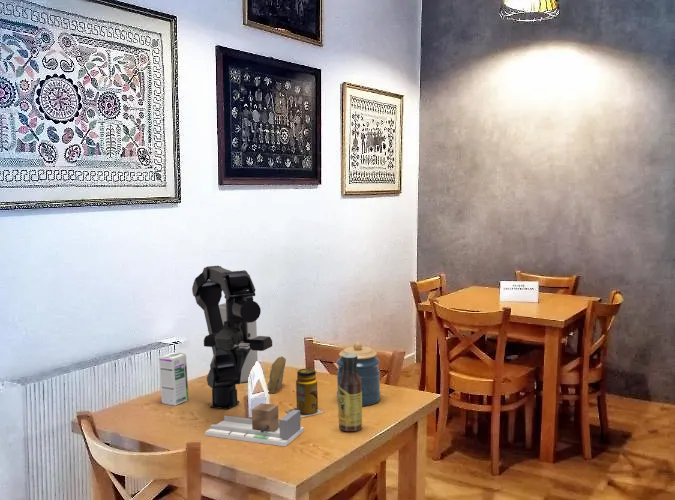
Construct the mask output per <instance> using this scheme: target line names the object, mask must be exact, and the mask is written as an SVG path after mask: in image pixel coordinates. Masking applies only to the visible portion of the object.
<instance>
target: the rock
mask: <svg viewBox="0 0 675 500" xmlns="http://www.w3.org/2000/svg"><path fill="white" fill-rule="evenodd" d="M286 361H287V358H285V357H284V356H279V357H277V358H276V359H275V360H274V362H273V363H272V364H271V368H270V373H269V376H268V378H269V381H268V382H267V383H268V384H267V390H268V391H269V392H268V393H271V394H276V393H277V392H278V390H279V389H280V388H281V387H282V384H283V379H284V373H285V367H286Z"/></svg>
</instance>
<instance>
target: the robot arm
mask: <svg viewBox="0 0 675 500" xmlns="http://www.w3.org/2000/svg"><path fill="white" fill-rule="evenodd" d="M191 290H192V296H193V297H194V299H195V302H196V305H198V307H200V308H201V309H202V310H203V313H204V318H205V321H206V327H207V331H208V334H207V335H205V336H204V339H203V347H207V348H208V347H209V348H211V350H212V355H213V356H212V358H211V361H210V364H209V366H210V369H209V371H208V373H207V376H206V383H207V386H208V387H210V388H211V397H212V399H211V401H212V403H211V404H209V407H210V408H215V409H223V410H230V409H231V408H233V407H234V406H236V405H237V404H240V401H239V400H238V390H237V389H238V388H236V385H240V384H241V383H240V380H241V370H242V368H243V365H244V363H245V360H246V357H247V355H248V353H249V352H250V350H251V349H252V350H255V351H257V352H263V351H266V350H268V349H270V348H272V347H273V340H272V338H271V337H270V336H266V335H265V336H264V335H257V337H255V338H253V339H248V338H249V337H250V333H248V323H249V322H254V321H256V322H257V320H258V319H259V318H260V316H261V311H262V310H261V306H260V305H259V303H258V302H257V301H254V297H256V287H255V285H254V283H253V280H252V278H251V275H250V274H249V273H248V271H247V270H243V269H242V270H230V269H227V268H224V267H222V266H220V265H211V266H206V267H203V270H202V272H201V273H200V274H199V275H197V276H196V277H195V278H194V280H193V284H192V287H191ZM222 292H223V294H224V299H225V303H226V321H224V324H223V322H222V317H221V313H220V309H219V305H220V302H221V300H222V299H221V298H222V297H223V294H222ZM223 325H224V326H223ZM241 341H242V342H241Z"/></svg>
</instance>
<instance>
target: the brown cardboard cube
mask: <svg viewBox="0 0 675 500" xmlns="http://www.w3.org/2000/svg"><path fill="white" fill-rule="evenodd" d="M251 419H252V429H253V430H261V432H264V431H268V432H274V431H275V430H276V429H278V428H279V420H280V419H279V405H278V404H270V403H262V402H261V403H259V404H258V405H256V406H254V407H253V408H251Z"/></svg>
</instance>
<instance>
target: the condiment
mask: <svg viewBox="0 0 675 500" xmlns="http://www.w3.org/2000/svg"><path fill="white" fill-rule="evenodd" d="M316 373H317V371H316V370H315V369H314V368H300V369H298V370H297V372H296V374H297V375H296V380H295V388H296V389H295V396H296V397H295V398H296V399H295V400H296V408H292V409H285V412H286V413H287V414H288V413H289V412H291V411H292V410H300V419H301V418H305V417H310V416H314V415H319V414H322V413H324V411H323V410H320V409H319V407H318V406H319V405H318V403H319V402H318V401H319V399H318V398H319V397H318V380H317V375H316Z"/></svg>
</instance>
